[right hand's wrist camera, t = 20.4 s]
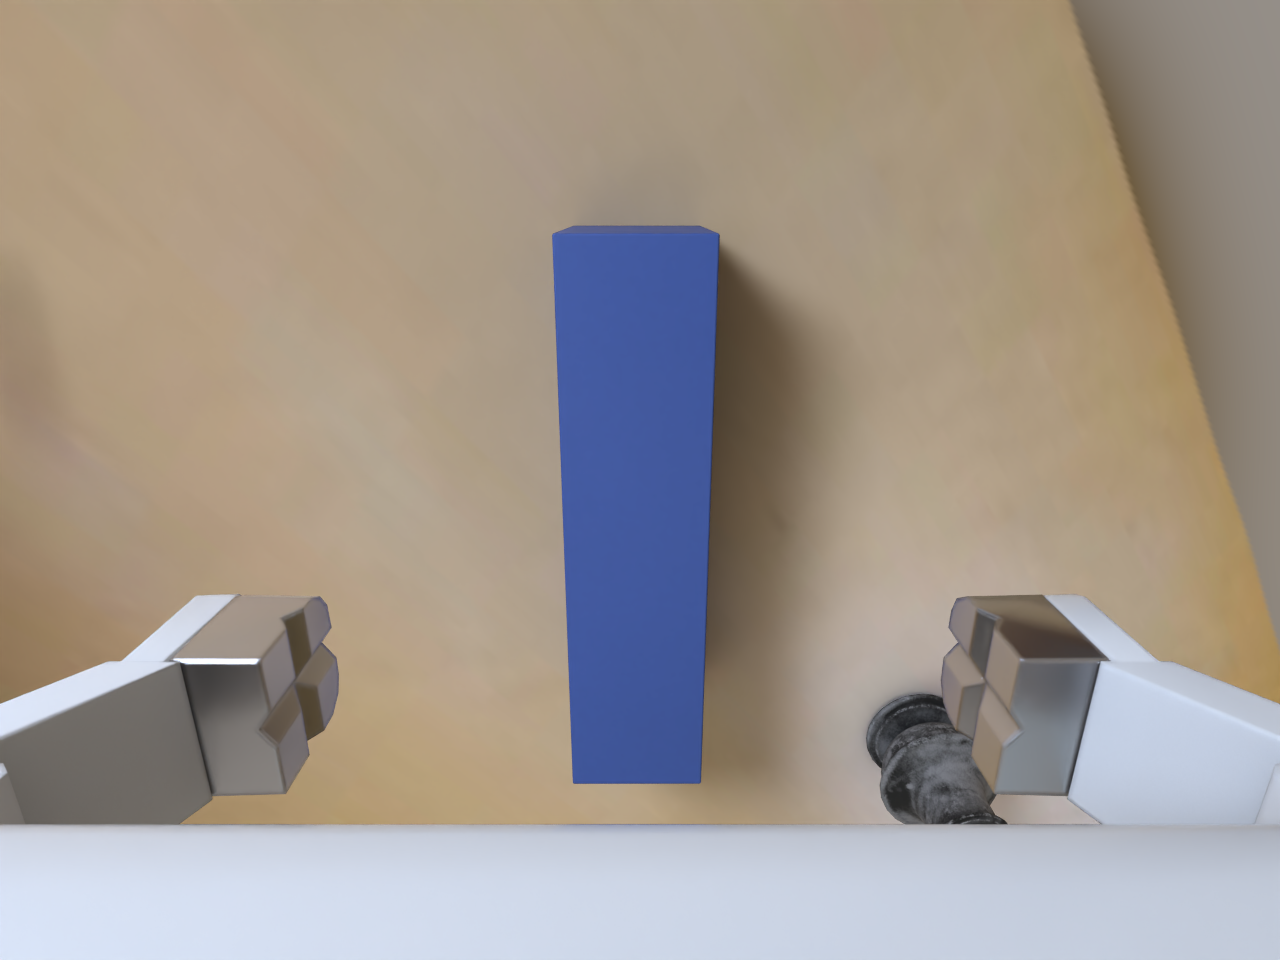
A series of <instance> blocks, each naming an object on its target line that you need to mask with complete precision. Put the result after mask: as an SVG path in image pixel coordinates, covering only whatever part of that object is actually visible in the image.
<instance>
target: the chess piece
mask: <svg viewBox="0 0 1280 960" xmlns="http://www.w3.org/2000/svg"><path fill="white" fill-rule="evenodd" d="M866 740H867V749H868V751H869V753H870V755H871V757H872V760H873V761H874V762H875V763H876V764H877V765H878V766H879V767H880V768H882V770H881V775H882V777H881V782H880V791H881V798H882V800H883V802H884V805H885V807H886V809H887V810H888V811H889V812H890V813H891V814H892V815H893V817H894V818H895V819H897V820H899V821H900V822H902V823H904V824H1007V823H1006V821H1005V820H1003V819H1001V818H1000V817H998V816H996V815H995V814H994V812H993V810H992V809H991V807H990V804H991V803H992V801H993V800H994V798H995V796H996V795H997V794H994V793H993V791H992V789H991V788H990V786H989V784H988V783H987V781H986V780H985V778H984V776H983V775H982V773H981V771H980V770H979V768H978V766H977V765H976V763H975V761H974V760H973V758H972V757H971V749H972V743H973V741H972V740H971V739H969V738H967V737H966V736H964V735H963V734H961V733H959V732H958V731H956V730H955V728H954V726H953V724H952V723H951V721H950V719H949V717H948V715H947V712H946V709H945V706H944V703H943V698H941V697H938V696H934V695H926V694H917V695H911V696H905V697H903V698H900V699H898V700H895V701H893V702H891V703H890V704H888V705H887V706H885V707H884V708H882V709H881V711H880V712H879V713H878V714H877V715H876V716H875V717H874V718H873V720H872V722H871V724H870V726H869V728H868V732H867V737H866Z"/></svg>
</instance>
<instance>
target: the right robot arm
mask: <svg viewBox="0 0 1280 960" xmlns="http://www.w3.org/2000/svg"><path fill="white" fill-rule="evenodd" d="M330 629H331V622H330V617H329V612H328V607H327V604H326V603H325V602H324V601H323V599H322V598H321V597H320V596H273V595H240V594H224V595H201V596H195V597H194V598H193V599H192V600H191V601H190V602H189V603H187V604H186V605H185V606H184V607H183V608H182V609H181V610H179V611H178V612H177V613H176V614H175V615H174V616H173V617H171V618H170V619H169V620H168V621H167V622H166V623H165V624H163V625H162V626H161V627H160V628H159V629H158V630H157V631H155V632H154V633H153V634H152V635H151V636H150V637H149V638H147V639H146V640H145V641H144V642H143V643H142V644H140V645H139V646H138V647H137V648H136V649H135V650H134V651H132V652H131V653H130V654H129V655H128V656H127V657H126V658H124V659H123V660H122V661H110V662H105V663H103V664H100V665H98V666H95V667H93V668H90V669H88V670H85V671H83V672H80V673H77V674H75V675H72V676H70V677H67V678H65V679H62V680H60V681H57V682H55V683H52V684H50V685H47V686H44V687H42V688H39V689H37V690H34V691H32V692H29V693H27V694H24V695H22V696H19V697H16V698H14V699H11V700H9V701H6V702H4V703H1V704H0V960H1280V704H1278V703H1276V702H1273V701H1271V700H1268V699H1266V698H1263V697H1261V696H1258V695H1256V694H1253V693H1251V692H1248V691H1246V690H1243V689H1240V688H1238V687H1235V686H1233V685H1230V684H1228V683H1225V682H1223V681H1220V680H1218V679H1215V678H1213V677H1210V676H1208V675H1205V674H1202V673H1200V672H1197V671H1195V670H1192V669H1190V668H1187V667H1185V666H1182V665H1180V664H1177V663H1175V662H1171V661H1158V660H1157V659H1156V658H1154V657H1153V656H1152V655H1151V654H1150V653H1149V652H1148V651H1146V650H1145V649H1144V648H1143V647H1142V646H1141V645H1140V644H1138V643H1137V642H1136V641H1135V640H1134V639H1133V638H1132V637H1130V636H1129V635H1128V634H1127V633H1126V632H1125V631H1124V630H1123V629H1121V628H1120V627H1119V626H1118V625H1117V624H1116V623H1115V622H1113V621H1112V620H1111V619H1110V618H1109V617H1108V616H1107V615H1105V614H1104V613H1103V612H1102V611H1101V610H1100V609H1099V608H1097V607H1096V606H1095V605H1094V604H1093V603H1092V602H1091V601H1089V600H1088V599H1087V598H1086V597H1084V596H1080V595H1077V594H1061V595H1009V596H967V597H961V598H957V599H956V601H955V603H954V606H953V608H952V610H951V616H950V622H949V629H950V631H951V632H952V634H953V635H954V637H955V638H956V640H957V641H958V643H957V644H956V645H955V646H954V647H953V648H952V649H951V650H950V651H949V653H948V654H947V655H946V656H945V657H944V659H943V667H942V676H941V686H942V696H943V703H944V706H945V709H946V712H947V715H948V717H949V719H950V721H951V723H952V724H953V726H954V728H955V730H956V731H958V732H959V733H961V734H963V735H964V736H966V737H967V738H969V739H971V740H972V741H973V743H972V749H971V757H972V758H973V760H974V761H975V763H976V765H977V766H978V768H979V770H980V771H981V773H982V775H983V776H984V778H985V780H986V781H987V783H988V784H989V786H990V788H991V789H992V791H993V793H994V794H1012V795H1049V796H1068V798H1067V799H1068V800H1069V801H1070V802H1072V803H1073V804H1075V805H1076V806H1077V807H1079V808H1080V809H1081V810H1083V811H1084V812H1085V813H1087V814H1088V815H1089V816H1091V817H1092V818H1094V819H1095V820H1096V821H1098V822H1099V823H1100V824H180V823H181V822H183V821H184V820H185V819H187V818H188V817H189V816H191V815H192V814H193V813H195V812H196V811H198V810H199V809H200V808H202V807H203V806H204V805H206V804H207V803H208V802H210V801H211V800H212V796H231V795H266V794H286V793H287V791H288V790H289V788H290V786H291V785H292V783H293V781H294V780H295V778H296V776H297V775H298V773H299V771H300V770H301V768H302V766H303V765H304V763H305V761H306V760H307V758H308V757H309V749H308V743H307V741H308V740H309V739H311V738H313V737H314V736H316V735H317V734H319V733H321V732H322V731H324V730H325V728H326V726H327V724H328V723H329V721H330V719H331V717H332V715H333V712H334V708H335V704H336V700H337V696H338V686H339V673H338V666H337V659H336V657H335V656H334V655H333V654H332V653H331V651H330V650H329V649H328V648H327V647H326V646H325V645H324V644H323V643H322V641H323V640H324V638H325V637H326V635H327V634H328V632H329V631H330Z"/></svg>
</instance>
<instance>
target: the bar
mask: <svg viewBox="0 0 1280 960" xmlns="http://www.w3.org/2000/svg"><path fill="white" fill-rule="evenodd" d="M719 237H720V235H719V234H718V233H716V232H713V231H711V230H708V229H706V228H704V227H701V226H572V227H569V228H567V229H564V230H562V231H559V232H556V233H554V234H553V235H552V239H553V266H554V292H555V319H556V345H557V372H558V398H559V425H560V451H561V478H562V504H563V531H564V557H565V584H566V610H567V637H568V663H569V690H570V716H571V743H572V769H573V783H574V784H699V783H701V764H702V734H703V705H704V676H705V646H706V617H707V588H708V559H709V529H710V500H711V471H712V442H713V412H714V383H715V354H716V325H717V295H718V266H719Z"/></svg>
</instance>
